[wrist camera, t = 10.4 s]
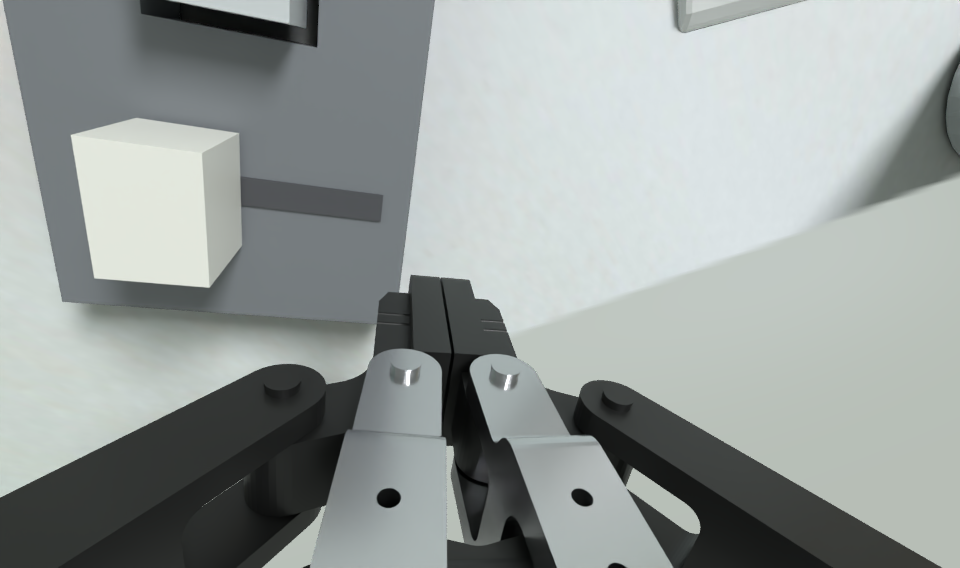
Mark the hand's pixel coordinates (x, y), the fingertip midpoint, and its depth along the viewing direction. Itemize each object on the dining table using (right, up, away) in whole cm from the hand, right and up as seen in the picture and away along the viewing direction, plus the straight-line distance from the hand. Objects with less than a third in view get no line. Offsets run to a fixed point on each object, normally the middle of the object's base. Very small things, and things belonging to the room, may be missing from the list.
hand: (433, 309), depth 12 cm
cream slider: (-9, +4, +4) cm, 10 cm away
